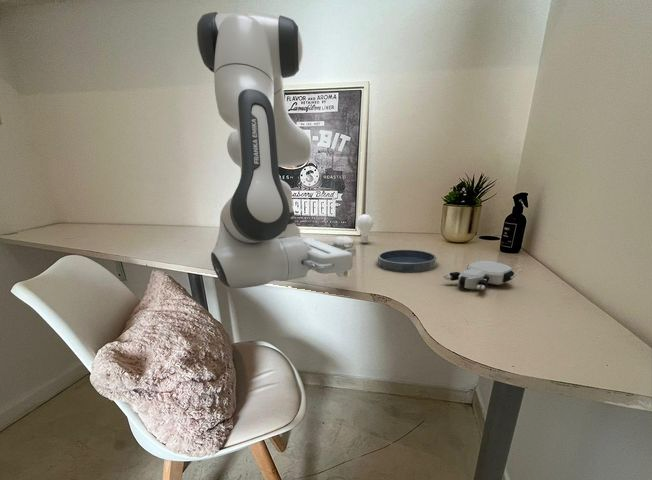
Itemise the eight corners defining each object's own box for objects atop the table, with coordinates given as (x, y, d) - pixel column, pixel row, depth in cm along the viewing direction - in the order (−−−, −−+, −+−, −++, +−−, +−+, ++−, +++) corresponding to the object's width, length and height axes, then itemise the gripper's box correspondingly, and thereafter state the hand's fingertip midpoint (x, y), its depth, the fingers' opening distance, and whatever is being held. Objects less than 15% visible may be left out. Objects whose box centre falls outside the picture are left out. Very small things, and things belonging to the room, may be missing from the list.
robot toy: (481, 301, 74) (521, 284, 81) (484, 282, 72) (524, 266, 79) (439, 287, 84) (478, 272, 91) (440, 270, 82) (479, 256, 89)
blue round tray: (371, 259, 108) (371, 251, 107) (421, 255, 111) (421, 248, 110) (388, 274, 92) (389, 265, 91) (446, 269, 95) (447, 261, 94)
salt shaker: (353, 278, 77) (355, 235, 73) (331, 277, 78) (331, 234, 74) (357, 272, 81) (358, 231, 77) (335, 271, 82) (335, 230, 78)
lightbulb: (353, 244, 130) (353, 214, 125) (362, 241, 134) (362, 212, 130) (367, 245, 126) (368, 215, 122) (375, 242, 131) (376, 213, 127)
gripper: (314, 253, 62) (374, 243, 68) (274, 235, 78) (325, 229, 84) (316, 285, 65) (373, 273, 71) (276, 262, 81) (326, 254, 87)
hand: (347, 249), depth 78 cm, fingers closed on salt shaker, 4 cm apart
